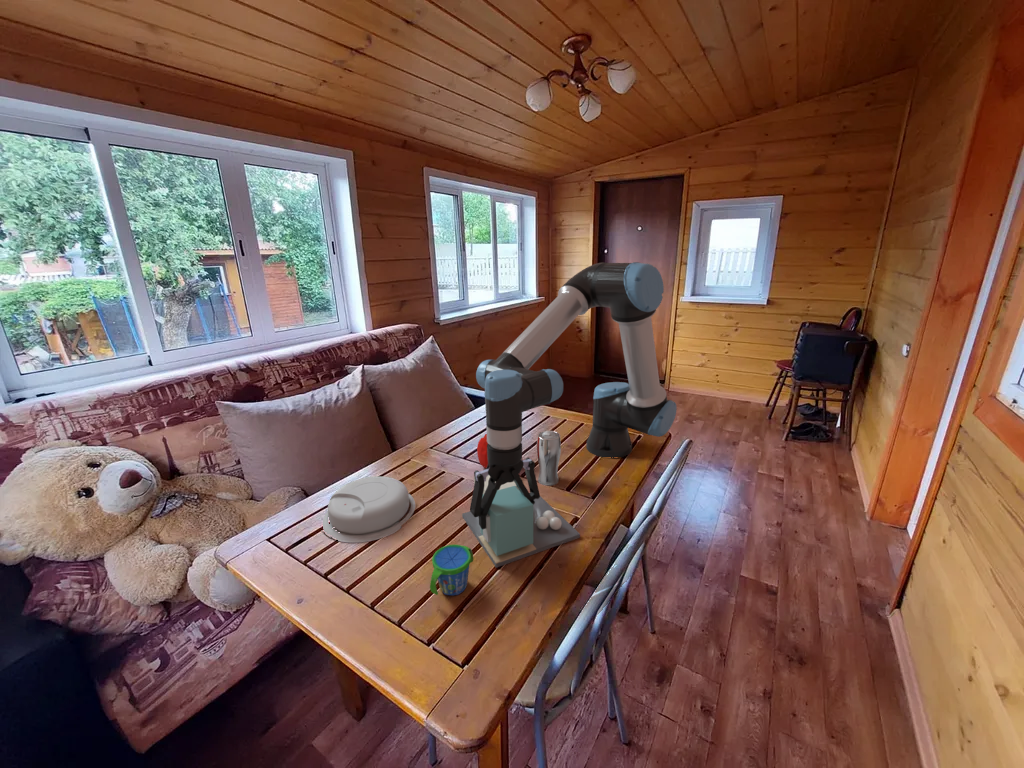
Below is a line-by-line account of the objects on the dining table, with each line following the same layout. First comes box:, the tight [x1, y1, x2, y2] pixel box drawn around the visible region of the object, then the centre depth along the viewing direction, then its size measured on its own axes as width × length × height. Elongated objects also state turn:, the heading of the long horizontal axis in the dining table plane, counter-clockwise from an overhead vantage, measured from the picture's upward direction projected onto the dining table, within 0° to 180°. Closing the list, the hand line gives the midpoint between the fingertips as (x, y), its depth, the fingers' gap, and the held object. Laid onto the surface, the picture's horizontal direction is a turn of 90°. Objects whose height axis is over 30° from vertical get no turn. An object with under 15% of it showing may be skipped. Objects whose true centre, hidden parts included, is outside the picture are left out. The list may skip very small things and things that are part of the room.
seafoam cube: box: [481, 486, 533, 556], centre depth 96 cm, size 9×9×10 cm
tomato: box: [476, 433, 488, 469], centre depth 134 cm, size 14×13×10 cm
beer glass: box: [536, 430, 562, 487], centre depth 125 cm, size 7×7×15 cm
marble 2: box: [543, 510, 555, 522], centre depth 106 cm, size 3×3×3 cm
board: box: [461, 495, 581, 569], centre depth 106 cm, size 22×21×1 cm
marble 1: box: [536, 517, 549, 530], centre depth 103 cm, size 3×3×3 cm
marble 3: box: [549, 517, 562, 530], centre depth 103 cm, size 3×3×3 cm
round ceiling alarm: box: [323, 475, 416, 544], centre depth 113 cm, size 25×25×6 cm
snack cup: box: [429, 544, 474, 596], centre depth 86 cm, size 11×8×7 cm
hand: (506, 532), depth 97 cm, fingers closed on seafoam cube, 9 cm apart
